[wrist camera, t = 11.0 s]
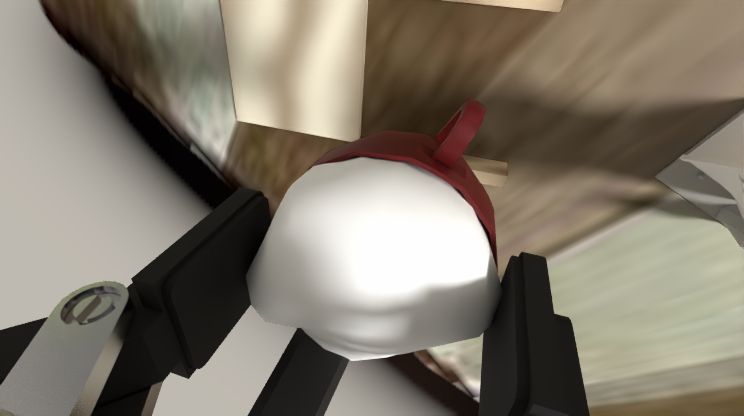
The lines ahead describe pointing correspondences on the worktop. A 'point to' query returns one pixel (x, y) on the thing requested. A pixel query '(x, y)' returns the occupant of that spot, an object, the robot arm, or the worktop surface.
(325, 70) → the pad
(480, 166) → the holder
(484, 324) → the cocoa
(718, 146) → the skyscraper
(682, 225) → the worktop surface
